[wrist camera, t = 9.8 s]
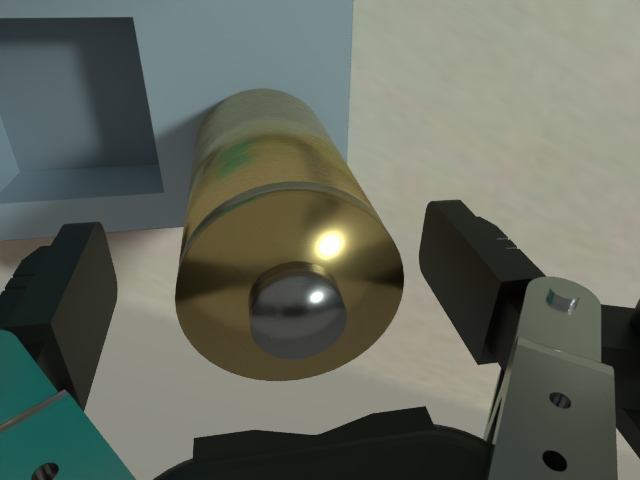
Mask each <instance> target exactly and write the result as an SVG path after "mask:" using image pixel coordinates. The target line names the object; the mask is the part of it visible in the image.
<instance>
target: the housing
mask: <svg viewBox="0 0 640 480" xmlns="http://www.w3.org/2000/svg"><path fill="white" fill-rule="evenodd" d="M352 24H353V0H0V241H6V240H19V239H32V238H45V237H56V236H57V234H58V232H59V230H60V229H61V227H62V225H64V224H69V223H85V222H100V223H101V224H102V226H103V228H104V231H105V233H109V232H122V231H135V230H148V229H161V228H173V227H184V223H185V216H186V208H187V201H188V194H189V186H190V179H191V171H192V164H193V156H194V149H195V142H196V138H197V134H198V131H199V129H200V126H201V124H202V123H203V121H204V119H205V118H206V116H207V115H208V114H209V112H210V111H211V110H212V109H213V108H214V107H215V106H216V105H217V104H219V103H220V102H221V101H223V100H224V99H226V98H228V97H229V96H231V95H233V94H236V93H239V92H241V91H245V90H250V89H259V88H263V89H274V90H279V91H282V92H286V93H288V94H290V95H293V96H295V97H297V98H298V99H300V100H301V101H303V102H304V103H305V104H306V105H308V106H309V107H310V108H311V109H312V110H313V111H314V113H315V114H316V115H317V116H318V118H319V119H320V121H321V123H322V124H323V126H324V127H325V129H326V131H327V132H328V134H329V136H330V137H331V139H332V141H333V142H334V144H335V146H336V147H337V149H338V151H339V152H340V154H341V155H342V157H343V159H344V160H345V162H346V164H347V146H348V122H349V98H350V73H351V49H352Z"/></svg>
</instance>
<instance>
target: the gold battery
mask: <svg viewBox="0 0 640 480" xmlns="http://www.w3.org/2000/svg"><path fill="white" fill-rule="evenodd" d="M403 286H404V272H403V264H402V261H401V257H400V253H399V251H398V249H397V247H396V245H395V243H394V241H393V239H392V238H391V236H390V234H389V233H388V231H387V230H386V228H385V226H384V225H383V223H382V221H381V220H380V218H379V216H378V215H377V213H376V211H375V210H374V208H373V206H372V205H371V203H370V202H369V200H368V198H367V197H366V195H365V193H364V192H363V190H362V188H361V187H360V185H359V183H358V182H357V180H356V179H355V177H354V175H353V174H352V172H351V170H350V169H349V167H348V165H347V164H346V162H345V160H344V159H343V157H342V155H341V154H340V152H339V151H338V149H337V147H336V146H335V144H334V142H333V141H332V139H331V137H330V136H329V134H328V132H327V131H326V129H325V127H324V126H323V124H322V123H321V121H320V119H319V118H318V116H317V115H316V114H315V113H314V111H313V110H312V109H311V108H310V107H309V106H308V105H306V104H305V103H304V102H303V101H301V100H300V99H298V98H297V97H295V96H293V95H290V94H288V93H286V92H282V91H279V90H274V89H263V88H259V89H250V90H245V91H241V92H239V93H236V94H233V95H231V96H229V97H228V98H226V99H224V100H223V101H221V102H220V103H219V104H217V105H216V106H215V107H214V108H213V109H212V110H211V111H210V112H209V114H208V115H207V116H206V118H205V119H204V121H203V123H202V124H201V126H200V129H199V131H198V134H197V138H196V142H195V149H194V156H193V164H192V171H191V179H190V186H189V194H188V201H187V208H186V216H185V223H184V231H183V238H182V246H181V253H180V260H179V268H178V275H177V283H176V293H175V304H176V312H177V316H178V320H179V323H180V325H181V328H182V330H183V332H184V334H185V336H186V337H187V339H188V340H189V341H190V343H191V344H192V345H193V347H194V348H195V349H196V350H197V351H198V352H199V353H200V354H201V355H202V356H204V357H205V358H206V359H208V360H209V361H210V362H212V363H214V364H215V365H217V366H218V367H220V368H222V369H224V370H227V371H229V372H231V373H234V374H237V375H240V376H243V377H247V378H252V379H258V380H266V381H287V380H298V379H303V378H309V377H312V376H316V375H320V374H323V373H326V372H329V371H331V370H334V369H336V368H338V367H340V366H342V365H344V364H346V363H348V362H350V361H351V360H353V359H355V358H356V357H358V356H359V355H360V354H362V353H363V352H364V351H366V350H367V349H368V348H369V347H370V346H371V345H373V344H374V343H375V342H376V341H377V340H378V339H379V337H380V336H381V335H382V334H383V333H384V332H385V330H386V329H387V327H388V326H389V324H390V323H391V322H392V320H393V318H394V316H395V314H396V312H397V310H398V307H399V304H400V301H401V298H402V293H403Z"/></svg>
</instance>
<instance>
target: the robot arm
mask: <svg viewBox="0 0 640 480" xmlns="http://www.w3.org/2000/svg"><path fill="white" fill-rule="evenodd" d="M419 264H420V269H421V272H422V274H423V276H424V278H425V280H426V281H427V283H428V285H429V286H430V288H431V289H432V291H433V293H434V294H435V296H436V298H437V299H438V301H439V302H440V304H441V306H442V307H443V309H444V311H445V312H446V314H447V316H448V317H449V319H450V320H451V322H452V324H453V325H454V327H455V329H456V330H457V332H458V333H459V335H460V337H461V338H462V340H463V342H464V343H465V345H466V347H467V348H468V350H469V351H470V353H471V355H472V356H473V358H474V360H475V361H476V363H477V364H478V365H481V364H489V363H497V362H498V364H499V365H500V367H501V370H500V373H499V376H498V380H497V384H496V388H495V392H494V396H493V400H492V404H491V408H490V412H489V417H488V421H487V425H486V429H485V433H484V437H483V439H481V438H479V437H477V436H475V435H472V434H470V433H468V432H465V431H462V430H459V429H455V428H452V427H447V426H442V425H436V424H433V422H432V420H431V418H430V415H429V413H428V411H427V409H426V407H425V406H424V407H417V408H409V409H402V410H395V411H388V412H380V413H373V414H370V415H367V416H365V417H362V418H360V419H357V420H355V421H352V422H350V423H347V424H345V425H342V426H340V427H337V428H335V429H332V430H330V431H327V432H325V433H322V434H318V435H305V434H295V433H283V432H273V431H261V430H250V431H243V432H235V433H228V434H221V435H213V436H207V437H199V438H194V446H193V458H192V459H189V460H187V461H184V462H182V463H180V464H178V465H176V466H174V467H172V468H170V469H168V470H167V471H165V472H164V473H162V474H161V475H159V476H157V477H156V478H154V479H153V480H618V476H617V445H616V428H617V429H618V430H619V432H620V433H621V434H622V436H623V437H624V438H625V440H626V441H627V442H628V444H629V445H630V446H631V448H632V449H633V450H634V452H635V453H636V454H637V456H638V457H639V458H640V299H639V301H638V303H637V305H636V307H635V308H627V307H618V306H610V305H602V304H600V302H599V300H598V298H597V297H596V296H595V295H594V294H593V293H592V292H591V291H590V290H588V289H587V288H585V287H584V286H582V285H580V284H578V283H575V282H573V281H570V280H567V279H563V278H558V277H546V276H545V275H544V274H543V273H542V271H541V270H540V269H539V268H538V267H537V266H536V265H535V264H534V263H533V262H532V261H531V260H530V259H529V258H528V257H527V256H526V255H525V254H524V253H523V252H522V251H521V250H520V249H517V246H516V245H515V244H514V243H513V242H512V241H511V240H508V237H507V236H506V235H505V234H504V233H503V232H502V231H501V230H500V229H499V228H498V227H497V226H496V225H494V224H492V223H490V222H488V221H487V220H485V219H483V218H481V217H476V216H475V215H474V214H473V213H472V212H471V211H470V210H469V209H468V208H467V206H466V205H465V204H464V203H463V202H462V201H461V200H443V201H431V202H429V204H428V205H427V208H426V213H425V219H424V225H423V232H422V238H421V244H420V250H419ZM116 301H117V279H116V274H115V270H114V266H113V263H112V259H111V255H110V251H109V247H108V243H107V239H106V235H105V231H104V228H103V226H102V224H101V223H100V222H85V223H69V224H64V225H62V227H61V229H60V230H59V232H58V234H57V236H56V237H55V239H54V241H53V243H52V244H51V246H42V247H39V248H38V249H37V250H35V251H34V252H33V253H31V254H30V255H29V256H27V257H26V258H25V259H23V260H22V261H21V263H20V265H19V266H18V268H17V269H16V271H15V272H14V274H13V278H11V279H10V280H9V282H8V283H7V285H6V287H5V291H3V292H2V293H1V295H0V480H136V479H135V478H134V476H133V475H132V474H131V472H130V471H129V470H128V469H127V467H126V466H125V465H124V464H123V462H122V461H121V460H120V458H119V457H118V456H117V454H116V453H115V452H114V451H113V449H112V448H111V447H110V445H109V444H108V443H107V442H106V440H105V439H104V438H103V437H102V435H101V434H100V433H99V431H98V430H97V429H96V427H95V426H94V425H93V424H92V422H91V421H90V420H89V418H88V417H87V416H86V415H85V413H84V410H85V406H86V403H87V399H88V396H89V393H90V389H91V386H92V383H93V379H94V376H95V372H96V369H97V366H98V362H99V359H100V355H101V352H102V349H103V345H104V342H105V339H106V335H107V332H108V328H109V325H110V322H111V318H112V315H113V311H114V308H115V305H116Z"/></svg>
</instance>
